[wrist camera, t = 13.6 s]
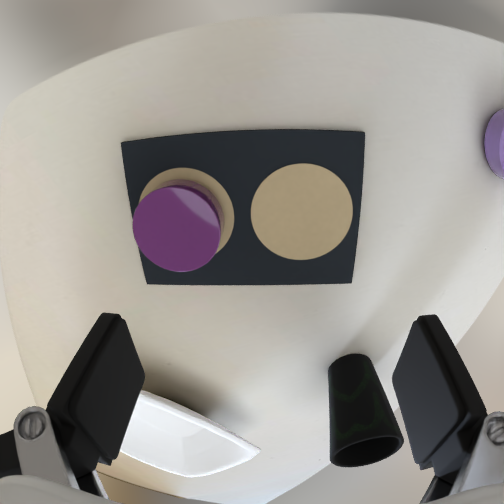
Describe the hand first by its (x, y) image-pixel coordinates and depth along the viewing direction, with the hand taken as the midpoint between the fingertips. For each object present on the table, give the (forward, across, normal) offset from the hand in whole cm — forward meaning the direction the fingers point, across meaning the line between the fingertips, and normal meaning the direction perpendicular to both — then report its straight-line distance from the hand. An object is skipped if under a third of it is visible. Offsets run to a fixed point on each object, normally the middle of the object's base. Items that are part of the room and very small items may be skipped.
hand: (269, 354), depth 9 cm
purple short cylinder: (+17, +7, +2) cm, 19 cm away
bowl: (+18, +15, +34) cm, 41 cm away
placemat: (+18, +2, +2) cm, 18 cm away
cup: (+18, -10, +22) cm, 30 cm away
